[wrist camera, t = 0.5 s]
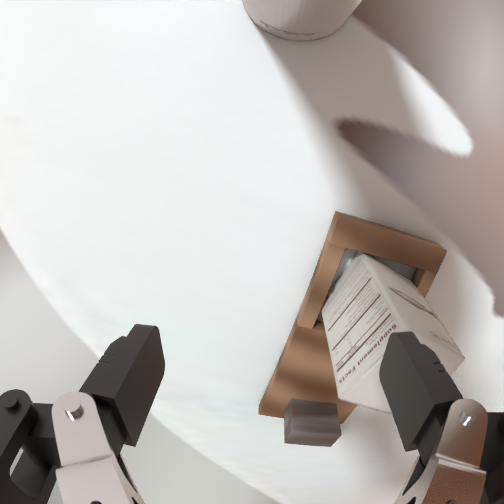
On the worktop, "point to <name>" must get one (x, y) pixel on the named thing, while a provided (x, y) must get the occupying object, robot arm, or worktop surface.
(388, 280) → the supplement box
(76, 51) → the worktop surface
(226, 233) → the worktop surface
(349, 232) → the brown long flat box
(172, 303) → the worktop surface
